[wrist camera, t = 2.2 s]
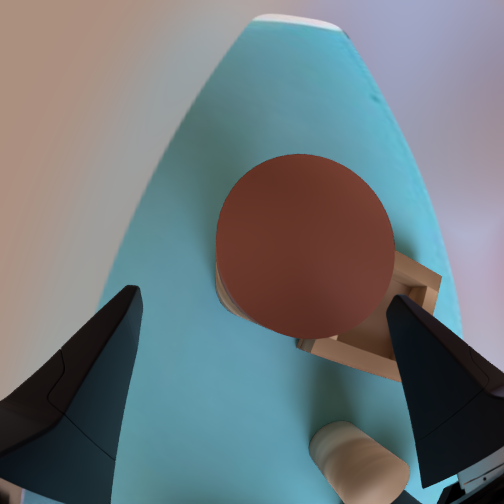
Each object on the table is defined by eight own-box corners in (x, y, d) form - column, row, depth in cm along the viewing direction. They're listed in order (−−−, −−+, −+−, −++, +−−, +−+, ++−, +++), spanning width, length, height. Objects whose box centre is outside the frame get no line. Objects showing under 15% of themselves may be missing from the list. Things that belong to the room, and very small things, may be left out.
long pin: (263, 326, 18) (362, 363, 6) (205, 301, 18) (182, 292, 5) (287, 269, 19) (408, 202, 6) (231, 244, 19) (262, 128, 6)
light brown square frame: (388, 378, 19) (409, 385, 16) (296, 347, 18) (309, 353, 15) (419, 280, 20) (442, 276, 18) (336, 237, 20) (354, 227, 17)
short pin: (344, 468, 17) (387, 513, 10) (299, 460, 17) (334, 513, 10) (367, 425, 18) (421, 460, 11) (323, 415, 18) (370, 457, 11)
